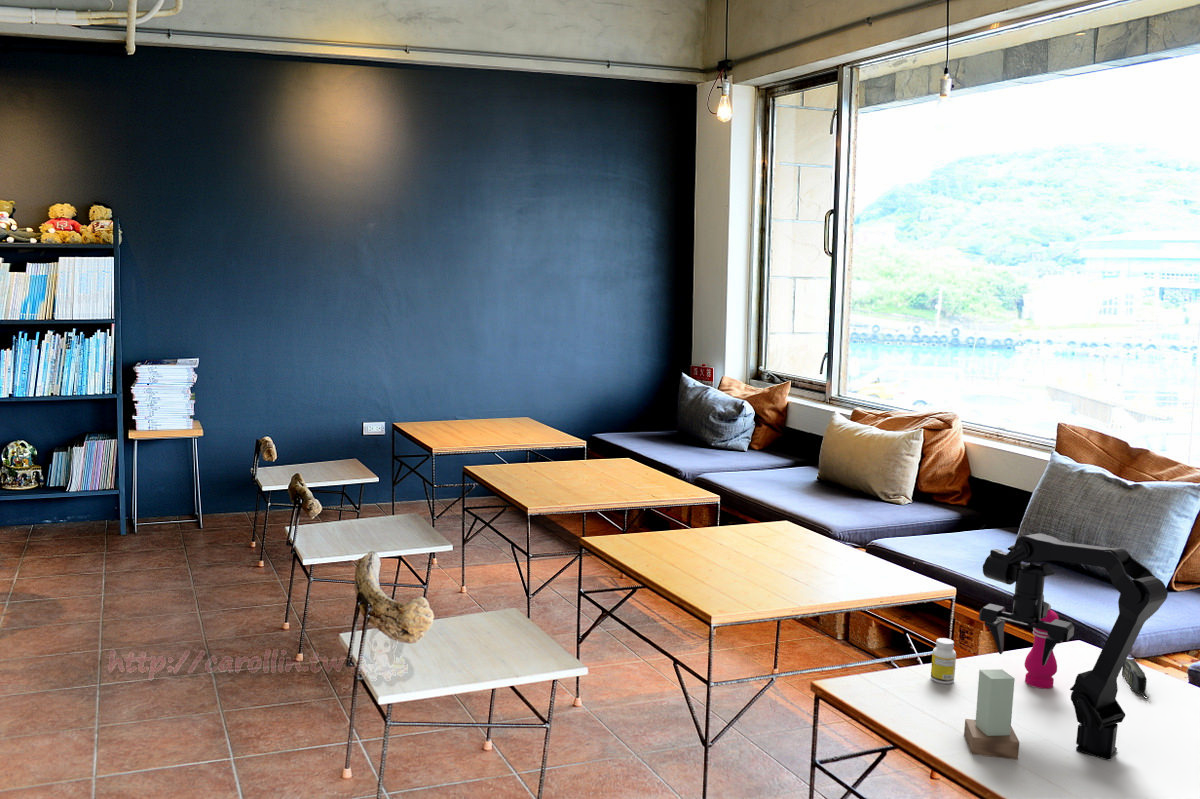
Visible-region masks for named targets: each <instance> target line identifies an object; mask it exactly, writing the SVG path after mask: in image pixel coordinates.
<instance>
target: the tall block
mask: <svg viewBox="0 0 1200 799" xmlns="http://www.w3.org/2000/svg"><path fill="white" fill-rule="evenodd" d="M977 683H978V685H977V686H978V687H977V697H976V698H977V699H976V700H977V701H976V709H975V710H976V711H975V720H976V723H975V726H976V727H978V728H979V729H980V730H981V731H982V732H983V733H984V734H985V735H987V736H1002V735H1010V731H1011V726H1012V718H1013V717H1012V714H1013V704H1014V703H1013V702H1014V692H1015V677H1013V676H1012V675H1010V673H1008V672H1007V671H1005V670H1004V669H979V672H978V682H977Z"/></svg>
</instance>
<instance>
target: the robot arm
mask: <svg viewBox="0 0 1200 799" xmlns="http://www.w3.org/2000/svg"><path fill="white" fill-rule="evenodd" d="M1053 561H1057V562H1062V563H1063V562H1065V563H1071V564H1078V565H1079V564H1080V565H1087V566H1092V567H1098V568H1099V567H1100V568H1104V569H1105V571H1106V572H1107V573H1108V576H1109V578H1110V581H1111V584H1112V585H1113V587H1114V588H1115V589H1116V590H1117V591H1118V592H1119V593H1120V594H1119V596H1118V602H1117V604H1118V615H1117V618H1116V620H1115V622H1114V624H1113V627H1112V629H1111V630H1110V632H1109V635H1108V636H1107V638H1106V641H1105V644H1104V645H1103V647H1102V649H1101V651H1100V652H1099V655H1098V657H1097V660H1096V661H1095V664H1094V666H1093V669H1091V670H1088V671H1085V672H1080V673H1077V675H1076V677H1075V682H1074V684H1073V686H1072V687H1070V688H1069V690H1070V691H1072V692H1071V693H1070V701H1071V703H1072V705H1073V707H1074V712H1075V717H1076V721H1077V723H1079V724H1078V725H1077V730H1076V732H1077V733H1076V741H1075V742H1076V745H1077V746H1076V747H1075V748H1076V749H1075V750H1076V751H1077V752H1079V753H1085V754H1088V755H1090V756H1094V757H1097V758H1101V759H1104V760H1107V761H1110V760H1111V759H1112V758H1113V756H1114V755H1115V753H1117V751H1118V747H1116V741H1117V733H1118V727H1119V725H1118V724H1119V723H1123V721H1124V719H1125V717H1126V713H1125V711H1124V709H1123V708H1122V707H1121V705H1120V704H1119V702H1118V700H1117V699H1116V698H1117V694H1118V690H1119V689H1118V681H1117V680H1118V677H1119V675H1120V673H1121V672H1122V668H1123V665H1124V663H1125V661H1126V659H1128V657H1129V655H1130V652H1131V650H1132V648H1133V646H1134V645H1135V642H1136V640H1137V638H1138V636H1139V635H1140V632H1141V630H1142V628H1143V626H1144V624H1145V623H1146V621H1148V620H1149V619H1150V618H1151V617H1153V615H1154V614H1156V613H1157V612H1158V610H1159V609H1161V607H1162V606H1163V605H1164V603H1165V602H1166V600H1167V598H1168V593H1169V592H1168V589H1167V587H1166V585H1165V584H1164V582H1163V581H1162V580H1161V579H1160V578H1158V577H1156V576H1155V575H1154V574H1153V572H1152V571H1151V570H1150V569H1149V568H1147V566H1145V565H1143V564H1141V562H1139V561H1138V560H1136V559H1135V558H1133V556H1132V555H1131V554H1130V553H1129V552H1128V551H1127V550H1126V549H1124V548H1121V547H1107V546H1101V545H1099V546H1098V545H1091V544H1082V543H1075V542H1066V541H1063V540H1060V539H1058V538H1056V537H1055V536H1051V535H1048V534H1045V533H1042V532H1041V533H1034V534H1033V533H1032V534H1028V535H1021V536H1019V537H1018V538H1017V539H1016V541H1015V543H1014V546H1013V547H1012V548H1011V549H1010V550H1009V552H1005V551H1003V550H1001V549H998V548H994V549H990V554H989V555H988V556H987V557H986V559H985V561H984V563H983V564H982V573H983V575H984V577H985V578H987V579H990V580H993V581H996V582H999V583H1003V584H1005V585H1007V586H1008V585H1010V586H1011V585H1013V584H1015V585H1014V586H1015V587H1014V595H1012V601H1013V605H1012V606H1013V608H1012V613H1011V612H1006V607H1005V606H1003V605H1002V606H1001V605H998V604H993V603H988V604H986V605H984V606H983V607H982V608H981V609H979V613H978V614H979V615H978V620H979V622H980V621H981V622H984V623H983V624H984V626H986V627H988V629H989V631H990V633H991V635H992V637H993V640H994V643H995V646H996V648H997V651H998V654H1000V655H1002V654H1003V652H1004V647H1005V646H1004V645H1005V644H1004V641H1005V638H1004V637H1005V636H1004V635H1005V631H1004V630H1005V625H1006V622H1007V623H1008V622H1009V623H1013V624H1017V625H1020V626H1025V627H1028V628H1031V629H1033V628H1036V629H1041V630H1045V631H1048V633H1047V634H1048V635H1049V636H1048V637H1047V638H1046V639H1045V645H1044V651H1043V657H1042V665H1043V666H1044V665H1045V664H1046V662H1047V660H1048V658H1049V656H1050V654H1051V652H1052V650H1053V651H1054V649H1055V647H1056V645H1057V644H1058V645H1059V644H1061V643H1062V642H1068V641H1069V640H1070V639H1072V637H1073V636H1074V635H1075V626H1074V625H1073V623H1072V622H1071V621H1065V620H1061V619H1059V620H1058V619H1055V620H1054V621H1052V622H1051V623H1049V622H1045V621H1041V620H1040V619H1041V618H1042V619H1043V618H1044V617H1047V612H1048V606H1049V604H1050V603H1049V602H1046V601H1045V594H1044V591H1045V590H1044V589H1045V588H1044V587H1045V580H1046V577H1050V576H1054V575H1056V572H1055V570H1053V568H1051V567H1050V565H1049V563H1042V562H1053ZM1022 562H1023V563H1022ZM1037 563H1042V564H1037ZM1034 623H1035V624H1034Z"/></svg>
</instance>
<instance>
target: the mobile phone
mask: <svg viewBox="0 0 1200 799" xmlns="http://www.w3.org/2000/svg"><path fill="white" fill-rule="evenodd" d="M1145 673H1146V672H1144V670H1143V669H1142V668H1141V666H1140V665H1139V664H1138V663H1137V662H1136V661H1135V660H1134V659H1131V658H1127V659H1126V661H1125V663H1124V665H1123V667H1122V669H1121V675H1122V677H1123V676H1124V677H1125V678H1126V679H1125V678H1124V677H1123V678H1124V679H1125V681H1126V680H1127V681H1128V682H1127V681H1126V682H1127V684H1128V683H1129V684H1130V686H1129V688H1130V687H1131V688H1130V690H1132V689H1133V690H1134V691H1135V692H1134V691H1133V690H1132V691H1133V692H1134V693H1136V692H1137V693H1136V694H1140V693H1141V695H1142V694H1143V695H1144V696H1145V697H1147V698H1148V695H1147V694H1146V691H1147V690H1146V689H1147V682H1148V681H1147V677H1146V674H1145ZM1129 684H1128V685H1129ZM1143 695H1142V696H1143ZM1144 696H1143V697H1144ZM1145 697H1144V698H1145Z"/></svg>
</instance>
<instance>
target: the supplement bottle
mask: <svg viewBox="0 0 1200 799" xmlns="http://www.w3.org/2000/svg"><path fill="white" fill-rule="evenodd" d="M935 641H936V642H935V647H934V648H933V650H932V654H931V655H932V656H931V668H930V679H931V680H932V682H936V683H938V684H944V685H948V684H949V685H950V684H952V683H955V682H954V681H955V674H956V665H957V664H956V662H957V653H956V652H957V651H955V649H954V647H955V642H954V640H952V639H950V638H946V637H939V638H937V639H936V640H935Z"/></svg>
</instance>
